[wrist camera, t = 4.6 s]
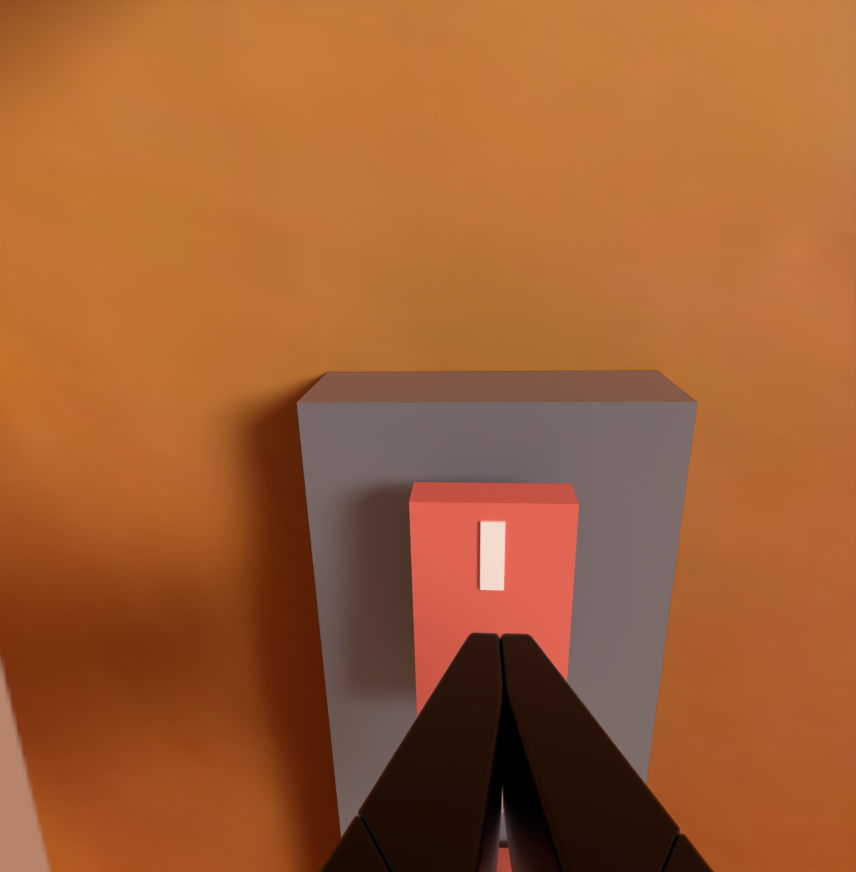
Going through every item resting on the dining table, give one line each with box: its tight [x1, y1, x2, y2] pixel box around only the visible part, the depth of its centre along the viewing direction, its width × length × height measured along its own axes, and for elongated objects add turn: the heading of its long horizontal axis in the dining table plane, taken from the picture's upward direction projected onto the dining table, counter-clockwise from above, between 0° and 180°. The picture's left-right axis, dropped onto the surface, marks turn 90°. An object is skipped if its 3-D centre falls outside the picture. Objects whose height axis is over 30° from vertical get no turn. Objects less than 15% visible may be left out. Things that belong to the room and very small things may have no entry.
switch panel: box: [297, 370, 697, 848], centre depth 19 cm, size 25×9×4 cm, turn 1°
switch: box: [409, 482, 579, 717], centre depth 13 cm, size 6×3×1 cm, turn 1°
